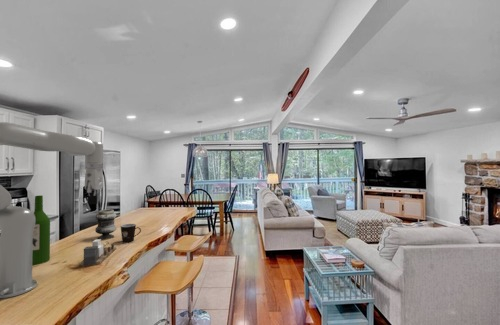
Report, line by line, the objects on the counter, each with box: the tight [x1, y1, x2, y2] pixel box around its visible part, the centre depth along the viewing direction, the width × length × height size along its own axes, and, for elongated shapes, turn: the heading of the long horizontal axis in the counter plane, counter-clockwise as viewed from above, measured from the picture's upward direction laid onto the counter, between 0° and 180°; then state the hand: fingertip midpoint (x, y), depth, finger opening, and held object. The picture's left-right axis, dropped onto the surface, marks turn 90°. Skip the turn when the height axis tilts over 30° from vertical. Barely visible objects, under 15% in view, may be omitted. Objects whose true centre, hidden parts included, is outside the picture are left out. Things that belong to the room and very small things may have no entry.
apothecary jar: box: [94, 208, 117, 241], centre depth 162 cm, size 12×12×18 cm
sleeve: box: [91, 238, 103, 257], centre depth 125 cm, size 5×4×8 cm
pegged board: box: [78, 240, 117, 267], centre depth 128 cm, size 22×9×8 cm, turn 11°
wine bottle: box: [32, 195, 51, 266], centre depth 121 cm, size 9×9×32 cm
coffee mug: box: [120, 223, 142, 244], centre depth 153 cm, size 12×9×10 cm
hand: (93, 203), depth 121 cm, fingers closed
